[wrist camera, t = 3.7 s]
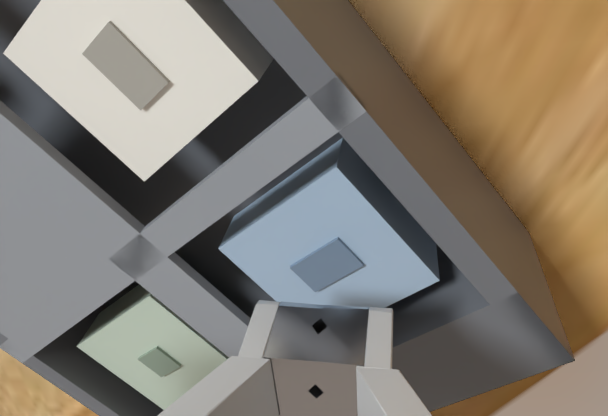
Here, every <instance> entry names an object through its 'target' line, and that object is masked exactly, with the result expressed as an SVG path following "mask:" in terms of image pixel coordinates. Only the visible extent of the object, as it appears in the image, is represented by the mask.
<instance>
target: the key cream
mask: <svg viewBox="0 0 608 416" xmlns="http://www.w3.org/2000/svg"><path fill="white" fill-rule="evenodd" d="M3 54H4V55H5V56H7V57H8V58H9V59H10V60H11V61H12V62H13V63H14V64H15V65H16V66H18V67H19V68H20V69H21V70H22V71H23V72H24V73H25V74H26V75H27V76H29V77H30V78H31V79H32V80H33V81H34V82H35V83H36V84H37V85H38V86H40V87H41V88H42V89H43V90H44V91H45V92H46V93H47V94H48V95H49V96H51V97H52V98H53V99H54V100H55V101H56V102H57V103H58V104H59V105H60V106H62V107H63V108H64V109H65V110H66V111H67V112H68V113H69V114H70V115H71V116H73V117H74V118H75V119H76V120H77V121H78V122H79V123H80V124H81V125H82V126H84V127H85V128H86V129H87V130H88V131H89V132H90V133H91V134H92V135H93V136H95V137H96V138H97V139H98V140H99V141H100V142H101V143H102V144H103V145H105V146H106V147H107V148H108V149H109V150H110V151H111V152H112V153H113V154H114V155H116V156H117V157H118V158H119V159H120V160H121V161H122V162H123V163H124V164H125V165H127V166H128V167H129V168H130V169H131V170H132V171H133V172H134V173H135V174H136V175H138V176H139V177H140V178H141V179H142V180H143V181H146V180H147V179H148V178H149V177H150V176H151V175H152V174H154V173H155V172H156V171H157V170H158V169H159V168H160V167H161V166H163V165H164V164H165V163H166V162H167V161H168V160H169V159H171V158H172V157H173V156H174V155H175V154H176V153H177V152H179V151H180V150H181V149H182V148H183V147H184V146H185V145H187V144H188V143H189V142H190V141H191V140H192V139H193V138H194V137H196V136H197V135H198V134H199V133H200V132H201V131H202V130H204V129H205V128H206V127H207V126H208V125H209V124H210V123H212V122H213V121H214V120H215V119H216V118H217V117H218V116H220V115H221V114H222V113H223V112H224V111H225V110H226V109H227V108H229V107H230V106H231V105H232V104H233V103H234V102H235V101H237V100H238V99H239V98H240V97H241V96H242V95H243V94H245V93H246V92H247V91H248V90H249V89H250V88H251V87H253V86H254V85H255V84H256V83H257V82H258V81H259V80H260V78H261V77H262V75H263V74H264V72H265V71H266V69H267V68H268V66H269V65H270V64H271V62H272V61H273V57H272V56H271V55H270V54H269V53H268V52H267V51H266V49H265V48H264V47H263V46H262V45H261V44H260V43H259V42H258V40H257V39H256V38H255V37H254V36H253V35H252V34H251V32H250V31H249V30H248V29H247V28H246V27H245V26H244V24H243V23H242V22H241V21H240V20H239V19H238V18H237V16H236V15H235V14H234V13H233V12H232V11H231V10H230V8H229V7H228V6H227V5H226V4H225V3H224V2H223V1H222V0H41V1H40V2H39V4H38V5H37V7H36V8H35V9H34V11H33V12H32V14H31V15H30V16H29V18H28V19H27V21H26V22H25V23H24V25H23V26H22V28H21V29H20V30H19V32H18V33H17V35H16V36H15V37H14V39H13V40H12V41H11V43H10V44H9V46H8V47H7V48H6V50H5V51H4V53H3Z"/></svg>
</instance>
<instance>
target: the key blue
mask: <svg viewBox="0 0 608 416" xmlns="http://www.w3.org/2000/svg"><path fill="white" fill-rule="evenodd" d="M218 249H219V250H220V251H221V252H222V253H223V254H224V255H226V256H227V257H228V258H229V259H230V260H231V261H232V262H233V263H234V264H235V265H237V266H238V267H239V268H240V269H241V270H242V271H243V272H244V273H245V274H246V275H248V276H249V277H250V278H251V279H252V280H253V281H254V282H255V283H256V284H257V285H259V286H260V287H261V288H262V289H263V290H264V291H265V292H266V293H267V294H268V295H270V296H271V297H272V298H273V299H274V300H275V301H276V302H281V301H282V302H294V303H305V304H317V305H337V306H356V307H369V308H370V307H377V308H385V307H387V306H389V305H391V304H393V303H395V302H397V301H399V300H401V299H403V298H405V297H408V296H410V295H412V294H414V293H416V292H418V291H420V290H422V289H424V288H426V287H428V286H430V285H432V284H434V283H436V282H438V281H440V278H439V268H438V258H437V247H436V243H435V242H434V241H433V240H432V239H431V237H430V236H429V235H428V234H427V233H426V232H425V231H424V229H423V228H422V227H421V226H420V225H419V224H418V223H417V221H416V220H415V219H414V218H413V217H412V216H411V215H410V213H409V212H408V211H407V210H406V209H405V208H404V207H403V206H402V204H401V203H400V202H399V201H398V200H397V199H396V198H395V196H394V195H393V194H392V193H391V192H390V191H389V190H388V188H387V187H386V186H385V185H384V184H383V183H382V182H381V180H380V179H379V178H378V177H377V176H376V175H375V174H374V172H373V171H372V170H371V169H370V168H369V167H368V166H367V165H366V163H365V162H364V161H363V160H362V159H361V158H360V157H359V155H358V154H357V153H356V152H355V151H354V150H353V149H352V147H351V146H350V145H349V144H348V143H347V142H346V141H345V139H344V138H341V139H340V140H339V141H337V142H336V143H334V144H333V145H332V146H330V147H329V148H328V149H326V150H325V151H323V152H322V153H321V154H319V155H318V156H316V157H315V158H314V159H312V160H311V161H310V162H308V163H307V164H305V165H304V166H303V167H301V168H300V169H298V170H297V171H296V172H294V173H293V174H292V175H290V176H289V177H287V178H286V179H285V180H283V181H282V182H280V183H279V184H278V185H276V186H275V187H273V188H272V189H271V190H269V191H268V192H267V193H265V194H264V195H262V196H261V197H260V198H258V199H257V200H255V201H254V202H253V203H251V204H250V205H249V206H247V207H246V208H244V209H243V210H242V211H240V212H239V213H237V214H236V215H235V216H234V217H233V219H232V221H231V223H230V225H229V227H228V229H227V231H226V233H225V235H224V238H223V240H222V242H221V244H220V246H219V248H218Z"/></svg>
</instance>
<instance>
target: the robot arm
mask: <svg viewBox="0 0 608 416" xmlns="http://www.w3.org/2000/svg"><path fill="white" fill-rule="evenodd" d="M392 350H393V309H392V308H377V307H370V308H369V307H356V306H337V305H317V304H305V303H294V302H282V301H281V302H276V301H265V300H259V301H258V302H257V304H256V305H255V308H254V311H253V314H252V317H251V319H250V322H249V325H248V328H247V331H246V334H245V337H244V340H243V343H242V346H241V348H240V351H239V354H238V356H231V357H229V358H228V359H227V360H226V361H224V362H223V363H222V364H221V365H219V366H218V367H217V368H216V369H214V370H213V371H212V372H211V373H209V374H208V375H207V376H206V377H205V378H203V379H202V380H201V381H200V382H198V383H197V384H196V385H195V386H193V387H192V388H191V389H190V390H188V391H187V392H186V393H185V394H183V395H182V396H181V397H180V398H178V399H177V400H176V401H175V402H174V403H172V404H171V405H170V406H169V407H167V408H166V409H165V410H164V411H162V412H161V413H160V414H159V415H157V416H432V415H431V413H430V412H429V411H428V409H427V408H426V406H425V405H424V404H423V402H422V401H421V399H420V398H419V397H418V395H417V394H416V392H415V391H414V390H413V388H412V387H411V386H410V384H409V383H408V381H407V380H406V379H405V377H404V376H403V374H402V373H401V372H400V370H397V369H392Z"/></svg>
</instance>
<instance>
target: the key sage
mask: <svg viewBox="0 0 608 416" xmlns="http://www.w3.org/2000/svg"><path fill="white" fill-rule="evenodd" d="M77 347H78V348H79V349H81V350H82V351H83V352H85V353H86V354H87V355H89V356H90V357H92V358H93V359H94V360H96V361H97V362H99V363H100V364H101V365H103V366H104V367H105V368H107V369H108V370H110V371H111V372H112V373H114V374H115V375H116V376H118V377H119V378H121V379H122V380H123V381H125V382H126V383H127V384H129V385H130V386H132V387H133V388H134V389H136V390H137V391H138V392H140V393H141V394H143V395H144V396H145V397H147V398H148V399H149V400H151V401H152V402H154V403H155V404H156V405H158V406H159V407H160V408H162V409H163V410H165V409H166V408H167V407H169V406H170V405H171V404H172V403H174V402H175V401H176V400H177V399H178V398H180V397H181V396H182V395H183V394H185V393H186V392H187V391H188V390H190V389H191V388H192V387H193V386H195V385H196V384H197V383H198V382H200V381H201V380H202V379H203V378H205V377H206V376H207V375H208V374H209V373H211V372H212V371H213V370H214V369H216V368H217V367H218V366H219V365H221V364H222V363H223V362H224V361H226V360H227V359H228V358H229V357H228V356H227V355H225V354H224V353H223V352H222V351H220V350H219V349H218V348H217V347H216V346H214V345H213V344H212V343H211V342H209V341H208V340H207V339H206V338H205V337H203V336H202V335H201V334H200V333H198V332H197V331H196V330H195V329H194V328H192V327H191V326H190V325H189V324H187V323H186V322H185V321H184V320H183V319H181V318H180V317H179V316H178V315H176V314H175V313H174V312H173V311H172V310H170V309H169V308H168V307H167V306H165V305H164V304H163V303H162V302H161V301H159V300H158V299H157V298H156V297H154V296H153V295H152V294H151V293H150V292H148V291H147V290H146V289H145V288H143V287H142V286H141V285H140V284H139V285H138V286H136V287H135V288H133V289H132V290H131V291H129V292H128V293H127V294H125V295H124V296H122V297H121V298H120V299H118V300H117V301H115V302H114V303H113V304H111V305H110V306H108V307H107V308H106V309H104V310H103V311H102V312H100V313H99V314H98V316H97V317H96V319H95V320H94V322H93V323H92V325H91V326H90V328H89V329H88V330H87V332H86V333H85V335H84V336H83V338H82V339H81V341H80V342H79V344H78V345H77Z"/></svg>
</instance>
